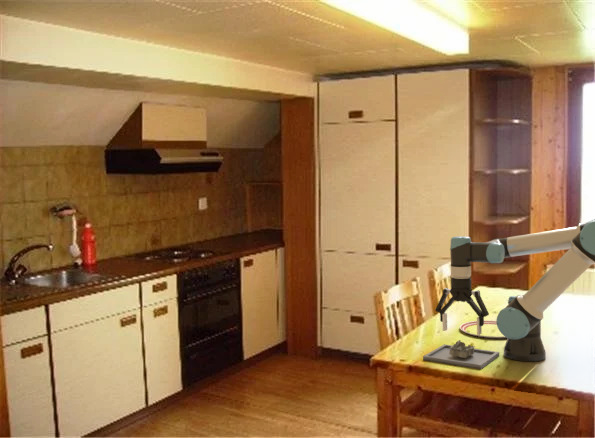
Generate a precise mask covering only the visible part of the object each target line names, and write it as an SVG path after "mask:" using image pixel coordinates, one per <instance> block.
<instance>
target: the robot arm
mask: <svg viewBox="0 0 595 438" xmlns="http://www.w3.org/2000/svg"><path fill="white" fill-rule="evenodd" d="M562 250H567V251H566V252H565V253H564V254H563V255H562V256H561V257H560V258H558V260H557V261H556V262H555V263H554V264H553V265H551V267H550V269H548V270H547V271H546V273H544V274H543V275H542V276H541V278H539V279H538V280H537V281H536V282H535V284H533V285H532V287H530V288H529V289H528V291H526V292H525V293H524V294H517V295H513V296H509V297H508V301H507V305H506V306H505V307H504V308H502V309H501V310H500V311H499V312H498V314H497V316H496V320H495V321H496V322H497V325H496V327H497V329H498V331H499V332H500V333H501V335H503V336H505V337H507V338H506V342H505V345H504V348H503V356H504V357H506V358H508V359H509V360H515V361H520V362H539V361H543V360H545V359H546V357H547V356H546V353H547V352H546V349H545V346H544V343H543V339H542V334H541V333H542V329H541V326H542V325H541V324H542V323H541V321H542V320H543V319H544V312H545V311H546V310H547V309H548V307H550V306H551V305H552V304H553V303H554V302H555V301H556V300H557V299H558V298H559V297H560V296H561V295H562V294H564V292H566V290H567V289H569V288H570V286H571V285H572V284H574V283H575V281H577V280H578V279H579V278H580V277H581V276H582V275H583V274H584V273H585V272H586V271H587V270H588V269H589V268H590V267H591V266H592V265H595V219H592V220H589V221H586V222H580V223H578V225H577V226H572V227H567V228H566V227H565V228H559V229H553V230H547V231H540V232H536V233H535V232H534V233H527V234H523V235H522V234H521V235H514V236H509V237H504V238H494V239H491V240H489V241H486V242H485V241H484V242H483V241H481V242H479V241H477V242H476V241H472V238H471V237H470V236H464V235H463V236H459V235H458V236H452V237H451V238H450V249H449V251H450V276H451V277H450V286H451V287H450V288H448V287H446V288H443V289H442V295H441V297H440V299H439V301H438V303H437V305H436V308H435V312H437V313H439V320H440V322H441V323H442V331H443V332H446V331H447V330H448V312H447V310H448V309H449V308H450V307H451V305H452V304H454V302H455V301H456V302H462V303H465V302H466V303H467V304H468V305H469V306H470V307H471V309H472V311H474V312H475V314H476V315H477V317H476V321H477V325H476V335H482V334H483V333H482V327H483V326H484V325H485V324H484V321H485V317H488V316H489V315H490V313H489V311H488V309H487V306H486V304H485V303H484V301H483V299H482V297H481V296H482V295H481V291H480V290H472V278H471V277H472V263H484V264H485V263H487V264H501V263H503V262H504V260H505V258H512V257H518V256H527V255H535V254H542V253H549V252H555V251H562ZM448 295H451V297H450V299H449V300H448V301H447V302H446V300H447V297H448ZM472 296H473V297H474V298H475V300H476V301H474V299H473V298H472ZM445 302H446V303H445ZM444 303H445V305H444ZM443 305H444V306H443Z"/></svg>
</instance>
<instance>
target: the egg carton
mask: <svg viewBox="0 0 595 438" xmlns="http://www.w3.org/2000/svg"><path fill="white" fill-rule="evenodd" d="M475 348H476V346H474V345H470V344H468V345H466V343H465V342H463V341H461V340H457V341H456V342H455V343H454V344H452V346H451V347H450V348H448V349H450V353H449V354H450V355H452V356H459V357H461V358H466V357H467V356H470V354H474V349H475Z"/></svg>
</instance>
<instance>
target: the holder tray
mask: <svg viewBox="0 0 595 438" xmlns="http://www.w3.org/2000/svg"><path fill="white" fill-rule="evenodd" d="M451 346H453V344H452V345H451V344H442V345H441V346H439V347H437V348H435V349H433V350H431V351H430V352H428V353H426V354H425V355H422V358H423V359H422V360H423V361H427V362H433V363H438V364H446V365H452V366H457V367H458V366H459V367H465V368H469V369H470V368H471V369H477V370H482V369H484V368H485V367H486V366H488V365H489V364H490V363H492V362H493V361H494V360H496V359H497V358H498V357H500V351H494V350H487V349H481V348H474V354H470V356H467V357H466V358H461V357H459V356H452V355H450V354H449V353H450V349H448V348H450V347H451Z"/></svg>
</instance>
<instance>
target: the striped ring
mask: <svg viewBox="0 0 595 438" xmlns="http://www.w3.org/2000/svg"><path fill="white" fill-rule="evenodd" d="M484 325H496V326H497V322H496V320H485V319H484ZM472 326H477V320H472V321H467V322H464V323H461V324H460V325H459V329H460V330H461V331H462V332H464V333H466V334H468V335H471V336H473V337H477V336H478V337H477V338H483V337H484V339H507V337H505V336H504V335H503V336H493V335H491V336H490V335H482V334H480V335H477V333H471V332H468V331H467V328H469V327H472Z"/></svg>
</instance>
